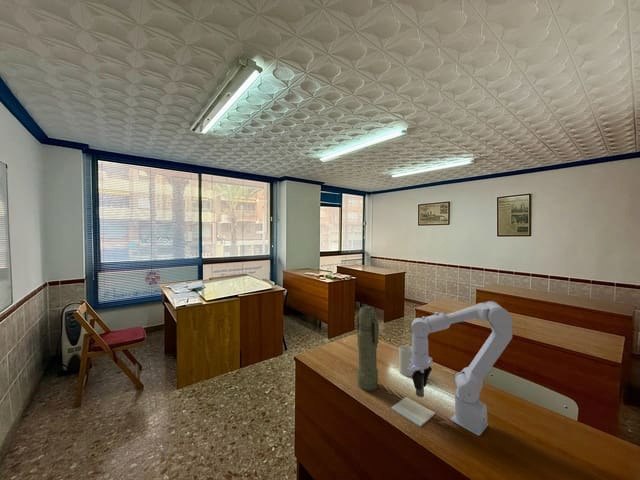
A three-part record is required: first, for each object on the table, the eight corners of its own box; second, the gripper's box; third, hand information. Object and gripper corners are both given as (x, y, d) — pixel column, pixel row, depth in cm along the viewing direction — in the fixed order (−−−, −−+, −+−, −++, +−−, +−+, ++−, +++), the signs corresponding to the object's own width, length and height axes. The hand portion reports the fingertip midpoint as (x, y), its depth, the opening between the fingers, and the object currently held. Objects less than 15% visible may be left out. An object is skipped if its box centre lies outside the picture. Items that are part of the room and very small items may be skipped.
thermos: (372, 395, 105) (372, 311, 105) (351, 383, 114) (350, 306, 113) (384, 386, 111) (384, 307, 111) (363, 376, 120) (363, 302, 119)
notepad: (434, 414, 93) (434, 412, 93) (420, 426, 87) (420, 425, 87) (406, 398, 103) (406, 396, 103) (391, 408, 97) (391, 407, 97)
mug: (408, 378, 117) (408, 352, 117) (396, 372, 123) (396, 347, 123) (420, 371, 124) (419, 346, 124) (407, 365, 129) (407, 342, 129)
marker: (425, 395, 94) (425, 368, 94) (420, 398, 93) (420, 371, 93) (418, 391, 97) (418, 365, 97) (414, 394, 95) (414, 367, 95)
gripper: (420, 342, 102) (420, 376, 102) (399, 353, 93) (399, 389, 93) (437, 348, 97) (437, 383, 97) (417, 360, 88) (417, 398, 88)
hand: (420, 387), depth 95 cm, fingers closed on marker, 3 cm apart
